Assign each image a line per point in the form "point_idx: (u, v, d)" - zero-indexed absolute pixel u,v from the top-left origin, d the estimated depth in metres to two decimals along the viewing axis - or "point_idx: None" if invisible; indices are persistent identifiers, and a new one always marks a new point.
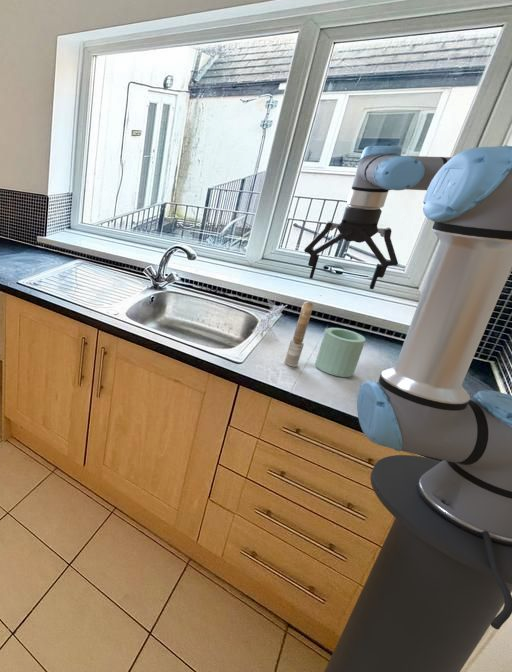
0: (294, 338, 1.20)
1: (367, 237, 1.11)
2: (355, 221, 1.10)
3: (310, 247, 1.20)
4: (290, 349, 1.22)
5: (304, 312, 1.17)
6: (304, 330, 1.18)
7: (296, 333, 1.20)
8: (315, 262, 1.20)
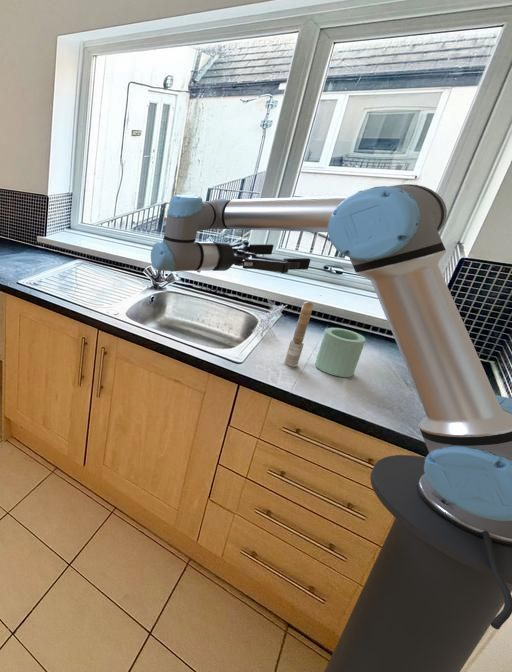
0: (294, 338, 1.20)
1: (235, 247, 1.12)
2: (229, 244, 1.08)
3: (281, 261, 1.02)
4: (290, 349, 1.22)
5: (304, 312, 1.17)
6: (304, 330, 1.18)
7: (296, 333, 1.20)
8: (291, 258, 1.04)
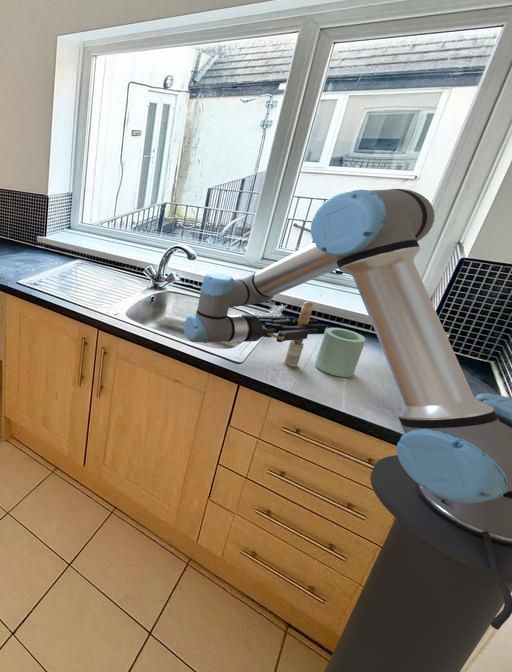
0: None
1: (265, 319, 1.20)
2: (258, 318, 1.16)
3: (302, 330, 1.15)
4: (290, 349, 1.22)
5: (304, 312, 1.17)
6: None
7: None
8: (309, 325, 1.17)
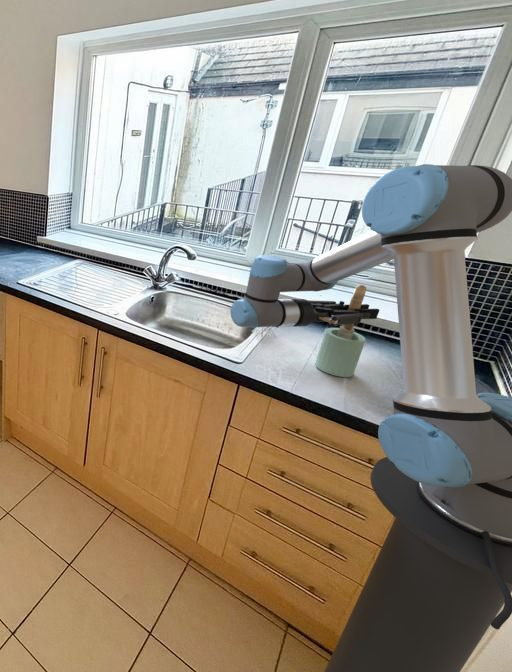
0: None
1: (315, 304, 1.15)
2: (309, 301, 1.12)
3: (355, 314, 1.10)
4: (340, 335, 1.17)
5: (357, 296, 1.13)
6: None
7: None
8: (361, 309, 1.13)
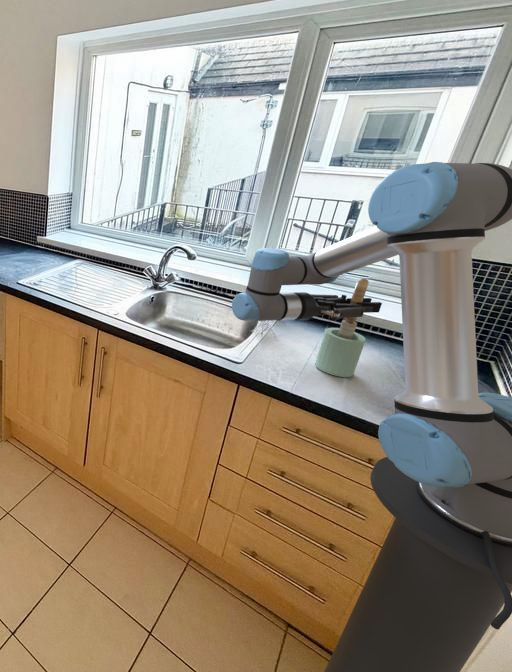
0: None
1: (317, 297, 1.15)
2: (310, 295, 1.11)
3: (358, 307, 1.10)
4: (342, 329, 1.16)
5: (359, 289, 1.12)
6: None
7: None
8: (364, 302, 1.12)
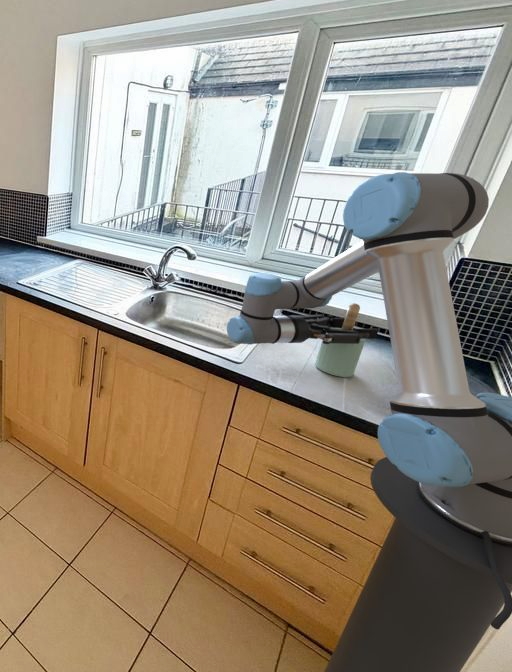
0: None
1: (309, 320, 1.17)
2: (304, 318, 1.14)
3: (354, 334, 1.10)
4: None
5: (350, 314, 1.15)
6: None
7: None
8: (360, 329, 1.13)
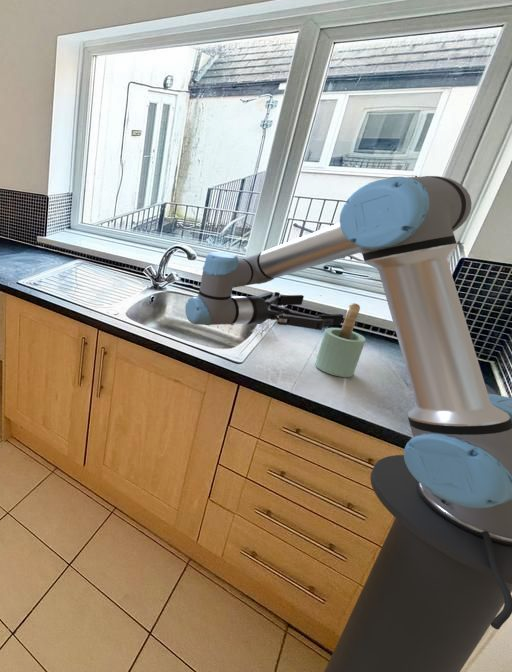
0: None
1: (267, 300, 1.15)
2: (263, 299, 1.11)
3: (315, 319, 1.05)
4: None
5: (350, 314, 1.15)
6: (350, 332, 1.16)
7: (341, 335, 1.17)
8: (324, 315, 1.07)
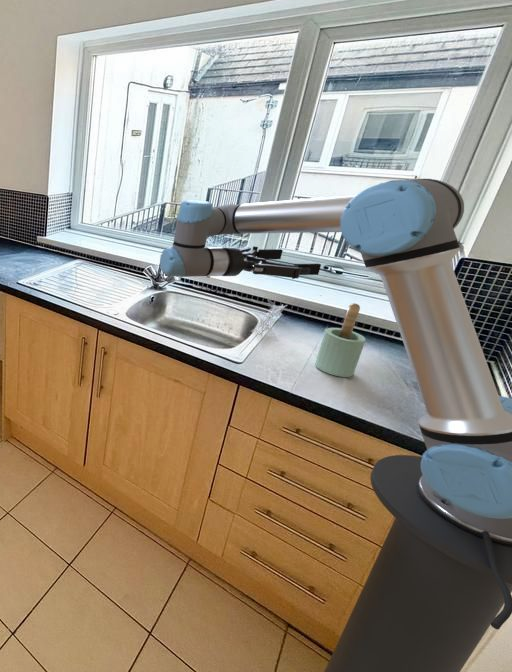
0: None
1: (244, 252, 1.12)
2: (239, 249, 1.07)
3: (292, 267, 1.01)
4: None
5: (350, 314, 1.15)
6: (350, 332, 1.16)
7: (341, 335, 1.17)
8: (301, 264, 1.04)
